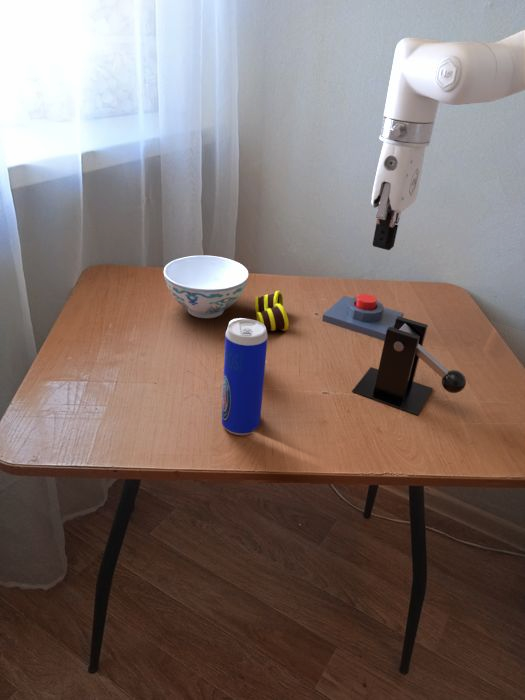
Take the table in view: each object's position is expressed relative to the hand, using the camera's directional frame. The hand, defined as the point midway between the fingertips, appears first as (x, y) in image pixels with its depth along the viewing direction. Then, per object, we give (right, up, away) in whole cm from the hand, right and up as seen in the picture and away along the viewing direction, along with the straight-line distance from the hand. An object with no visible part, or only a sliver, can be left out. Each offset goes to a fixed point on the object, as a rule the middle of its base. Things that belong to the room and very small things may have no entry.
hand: (382, 246), depth 94 cm
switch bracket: (-1, -24, -10) cm, 26 cm away
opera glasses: (-19, -13, +8) cm, 24 cm away
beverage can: (-23, -28, -18) cm, 40 cm away
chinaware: (-31, -10, +10) cm, 34 cm away
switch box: (-2, -13, +10) cm, 16 cm away
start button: (-2, -9, +8) cm, 12 cm away
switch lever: (+3, -20, -14) cm, 24 cm away
